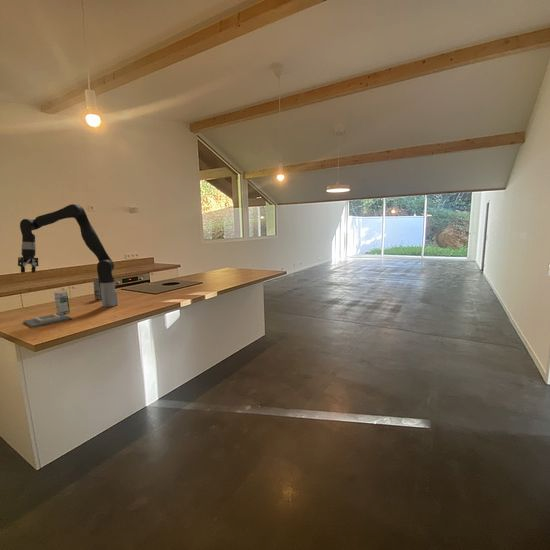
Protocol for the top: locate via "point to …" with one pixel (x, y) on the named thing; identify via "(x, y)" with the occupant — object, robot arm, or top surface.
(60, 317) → the base board
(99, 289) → the coffee box
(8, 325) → the top surface
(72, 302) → the top surface
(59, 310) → the syrup box
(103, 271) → the robot arm
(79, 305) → the top surface
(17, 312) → the top surface
